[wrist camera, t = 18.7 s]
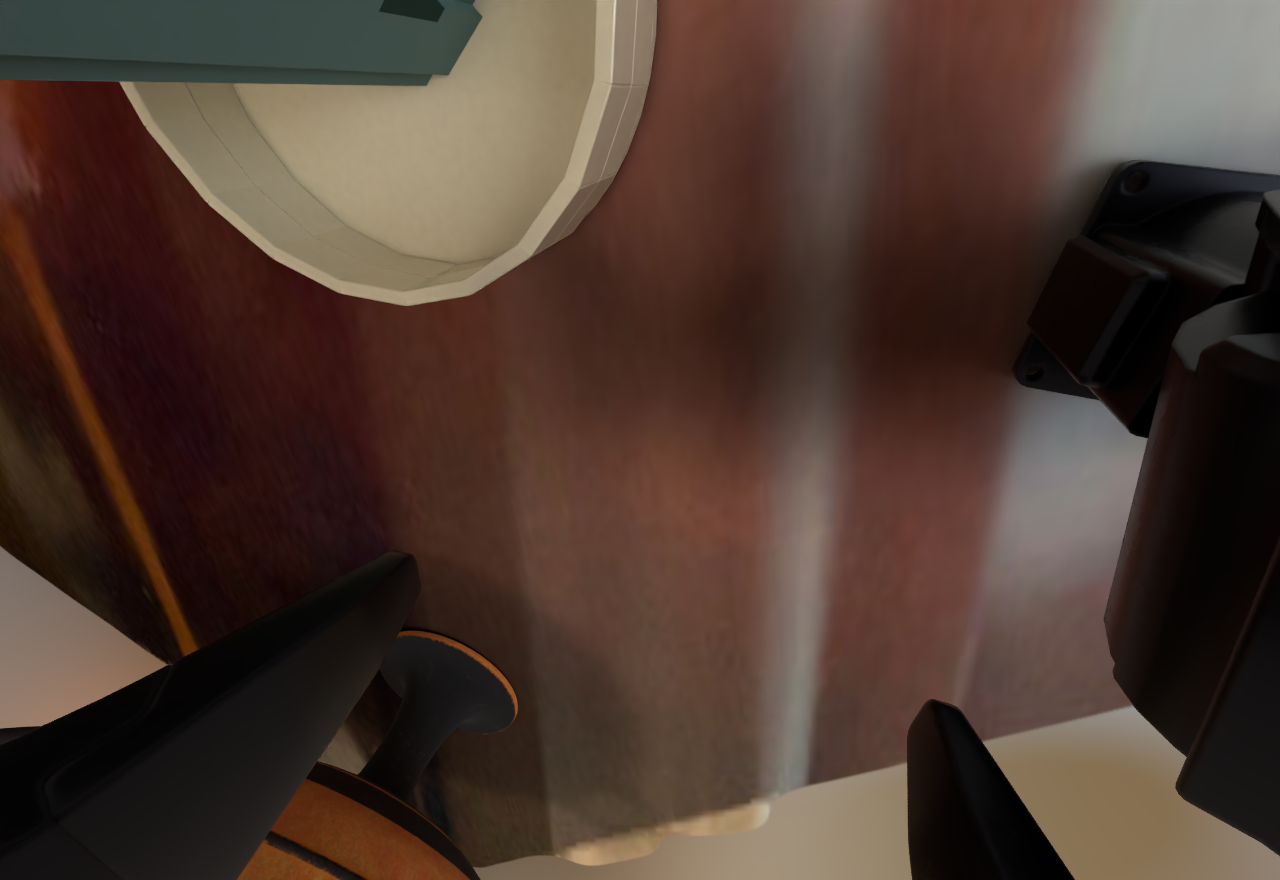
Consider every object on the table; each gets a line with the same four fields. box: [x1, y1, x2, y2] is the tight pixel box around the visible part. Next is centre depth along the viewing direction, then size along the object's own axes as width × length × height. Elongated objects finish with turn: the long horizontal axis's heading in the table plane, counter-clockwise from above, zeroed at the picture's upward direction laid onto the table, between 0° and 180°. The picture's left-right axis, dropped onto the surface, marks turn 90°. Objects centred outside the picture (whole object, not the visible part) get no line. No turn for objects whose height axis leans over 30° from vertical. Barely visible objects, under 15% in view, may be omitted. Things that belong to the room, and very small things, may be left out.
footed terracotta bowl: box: [0, 631, 518, 880], centre depth 31 cm, size 36×26×18 cm
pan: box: [119, 0, 657, 306], centre depth 16 cm, size 16×16×4 cm
